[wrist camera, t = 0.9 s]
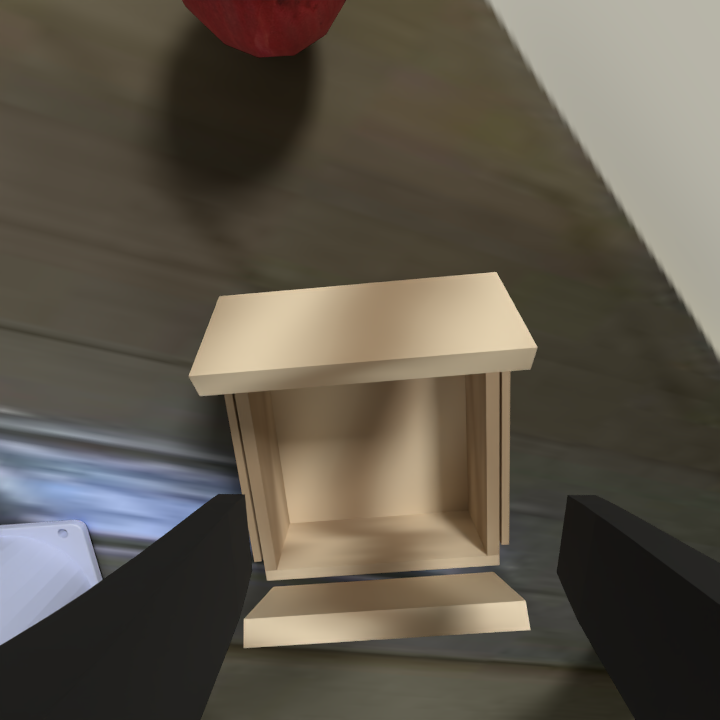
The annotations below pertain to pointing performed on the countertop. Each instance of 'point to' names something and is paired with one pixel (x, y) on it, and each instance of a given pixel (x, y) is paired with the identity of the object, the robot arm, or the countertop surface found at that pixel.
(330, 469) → the carton
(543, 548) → the countertop surface
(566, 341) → the countertop surface
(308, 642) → the flap
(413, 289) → the flap
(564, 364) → the countertop surface
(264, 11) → the red rounded oval piece
